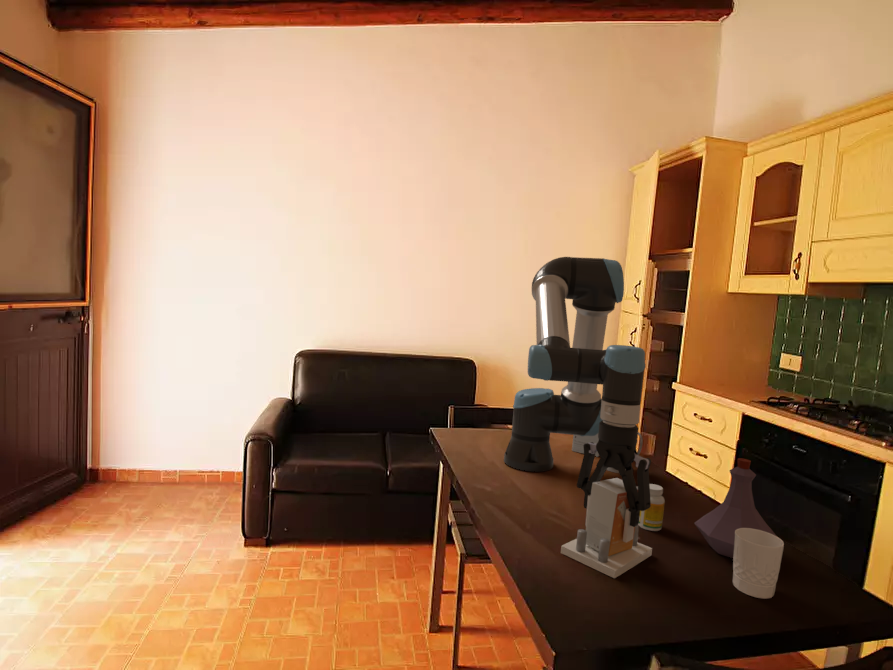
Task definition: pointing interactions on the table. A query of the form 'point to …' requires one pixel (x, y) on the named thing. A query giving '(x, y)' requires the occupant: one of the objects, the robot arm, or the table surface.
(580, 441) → the supplement box
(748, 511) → the flask
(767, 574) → the white cup
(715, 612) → the table surface
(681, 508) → the table surface
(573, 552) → the pin tray
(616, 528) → the small box
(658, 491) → the supplement bottle
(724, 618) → the table surface
